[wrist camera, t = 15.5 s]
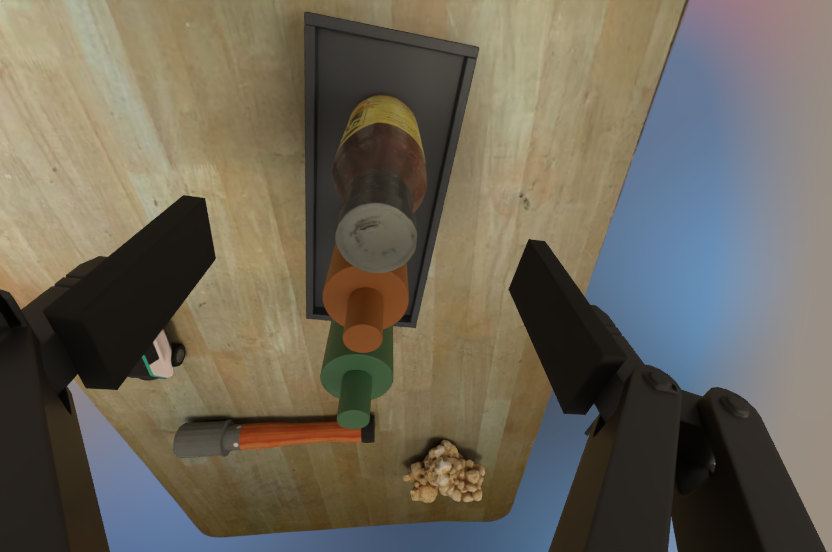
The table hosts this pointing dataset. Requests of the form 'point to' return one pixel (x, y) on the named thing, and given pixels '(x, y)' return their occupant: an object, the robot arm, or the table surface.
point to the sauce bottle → (379, 185)
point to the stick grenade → (260, 436)
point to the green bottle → (356, 376)
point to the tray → (330, 112)
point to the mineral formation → (445, 476)
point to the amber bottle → (364, 301)
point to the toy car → (159, 359)
